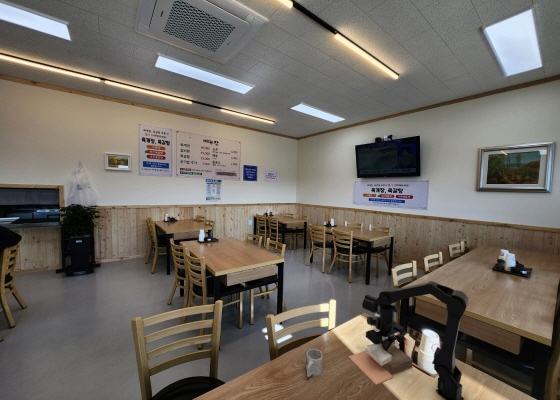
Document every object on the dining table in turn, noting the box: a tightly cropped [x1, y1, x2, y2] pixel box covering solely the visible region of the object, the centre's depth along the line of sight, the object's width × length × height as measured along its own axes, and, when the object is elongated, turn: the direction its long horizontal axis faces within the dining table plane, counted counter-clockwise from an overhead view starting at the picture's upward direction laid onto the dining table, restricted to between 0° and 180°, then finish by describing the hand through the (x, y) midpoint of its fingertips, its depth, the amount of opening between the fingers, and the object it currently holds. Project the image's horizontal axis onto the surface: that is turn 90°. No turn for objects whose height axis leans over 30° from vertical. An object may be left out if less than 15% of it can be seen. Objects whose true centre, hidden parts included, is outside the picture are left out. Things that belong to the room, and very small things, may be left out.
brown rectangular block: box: [366, 343, 413, 376], centre depth 103 cm, size 14×12×4 cm
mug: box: [305, 348, 323, 378], centre depth 95 cm, size 10×7×7 cm, turn 149°
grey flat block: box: [365, 343, 392, 366], centre depth 100 cm, size 9×6×2 cm, turn 23°
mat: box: [348, 350, 394, 386], centre depth 98 cm, size 16×10×1 cm, turn 24°
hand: (385, 351), depth 102 cm, fingers closed
